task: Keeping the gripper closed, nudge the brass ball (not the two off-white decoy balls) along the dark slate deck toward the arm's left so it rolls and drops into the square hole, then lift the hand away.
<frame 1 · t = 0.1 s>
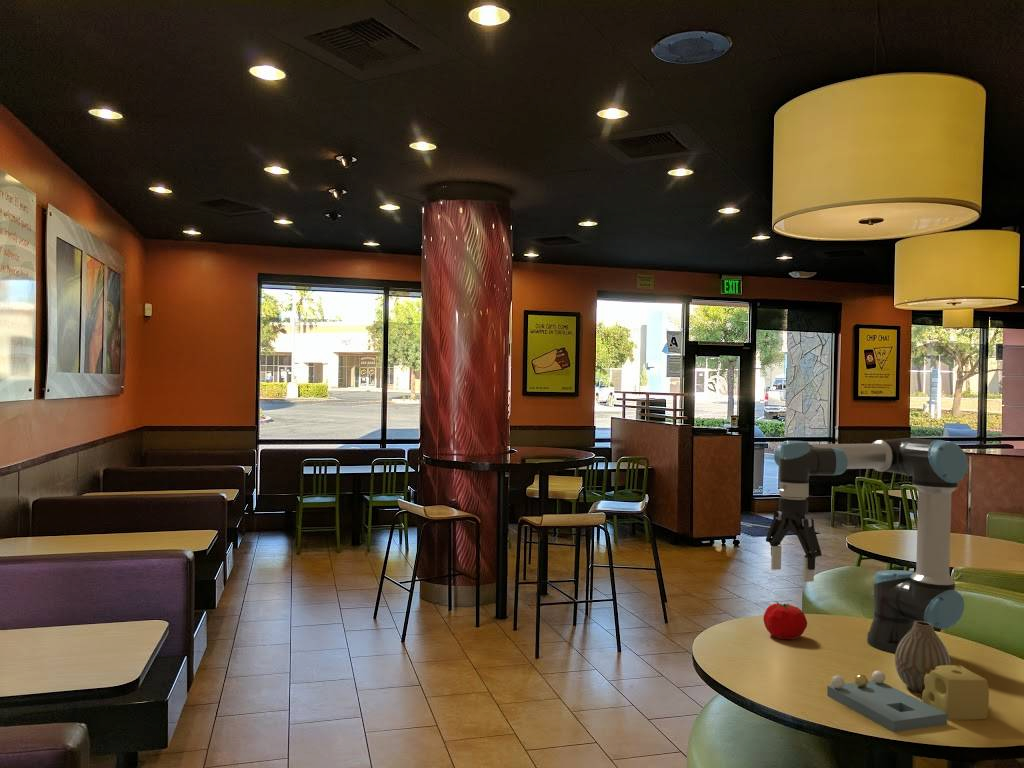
hand: (791, 575, 215), 28 cm above the table, fingers open, 13 cm apart
decoy b: (837, 681, 202), point 4 cm above the table, touching deck
cheese: (955, 713, 194), on the table
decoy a: (878, 677, 206), point 4 cm above the table, touching deck
vase: (921, 689, 209), on the table
ball: (861, 680, 203), point 4 cm above the table, touching deck
deck: (884, 709, 195), on the table
tomato: (784, 637, 250), on the table
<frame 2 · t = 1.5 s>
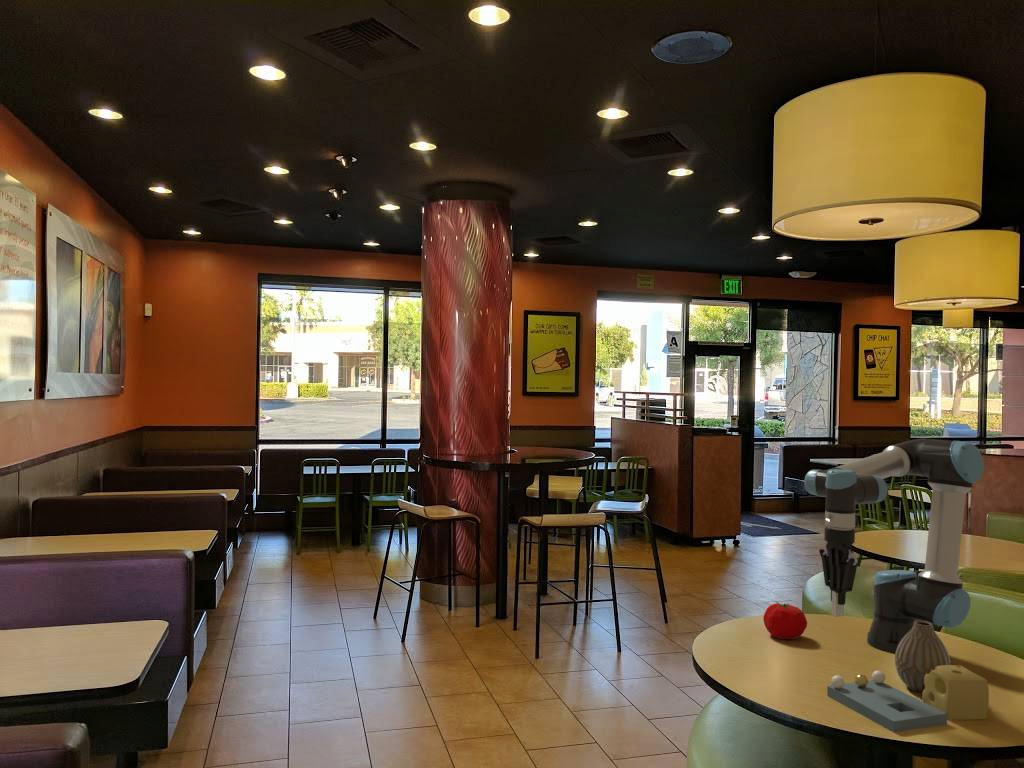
hand: (837, 615, 211), 18 cm above the table, fingers closed
nothing on the table moved.
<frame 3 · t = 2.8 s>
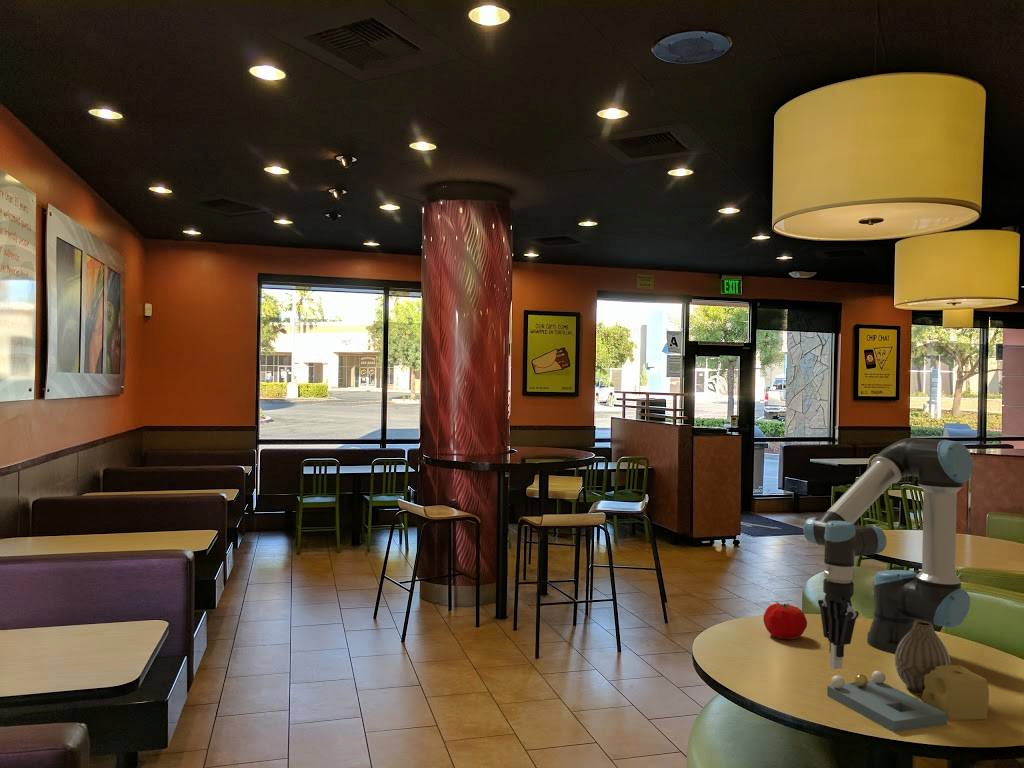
hand: (836, 667, 211), 4 cm above the table, fingers closed
nothing on the table moved.
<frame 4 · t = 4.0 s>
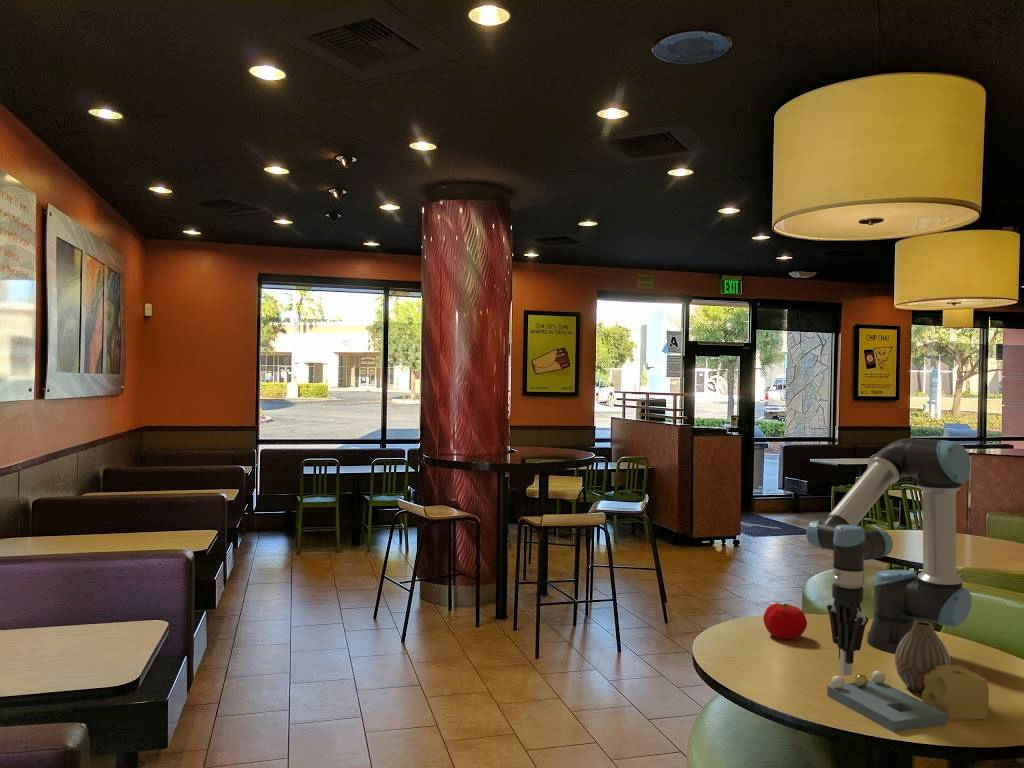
hand: (845, 674, 208), 4 cm above the table, fingers closed
nothing on the table moved.
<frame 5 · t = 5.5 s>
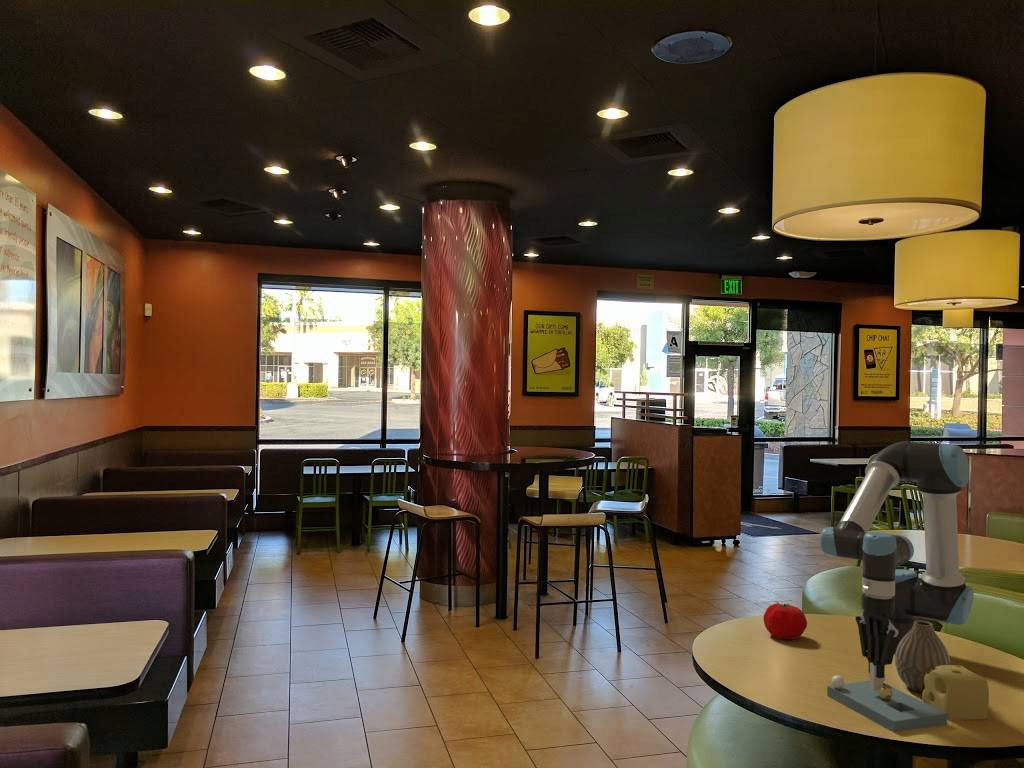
hand: (876, 689, 198), 4 cm above the table, fingers closed
ball: (885, 693, 195), point 4 cm above the table, tilted 68°, touching deck
everything else where it was.
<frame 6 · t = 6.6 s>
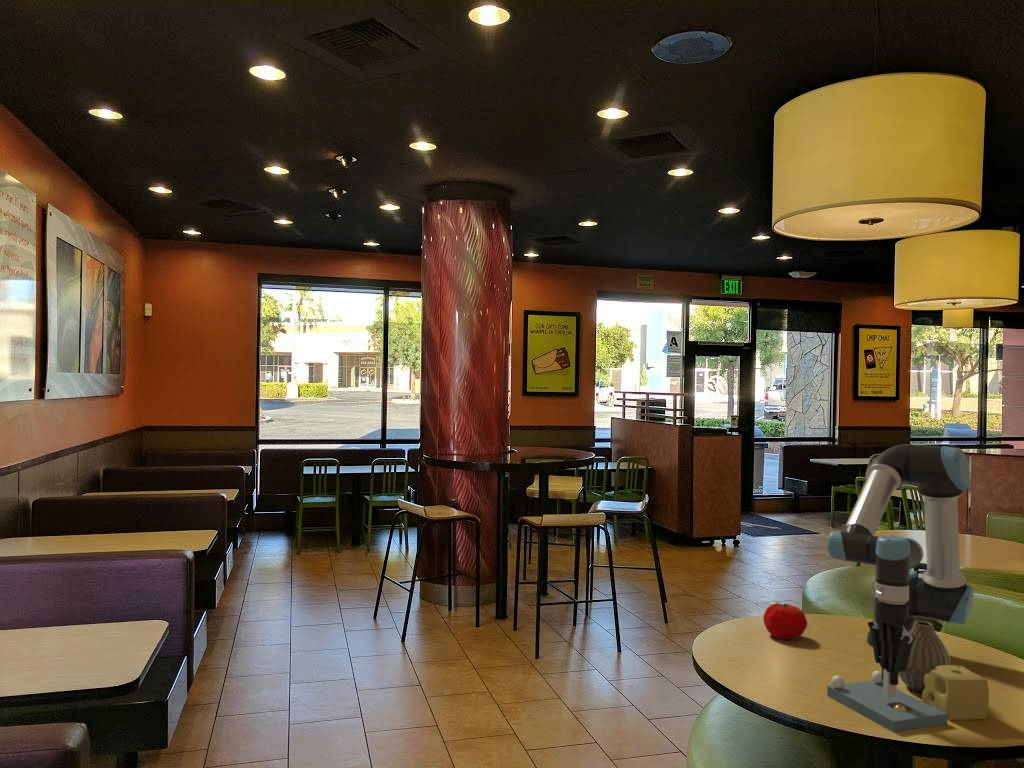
hand: (889, 696, 194), 4 cm above the table, fingers closed
ball: (900, 711, 190), point 2 cm above the table, tilted 138°
everything else where it was.
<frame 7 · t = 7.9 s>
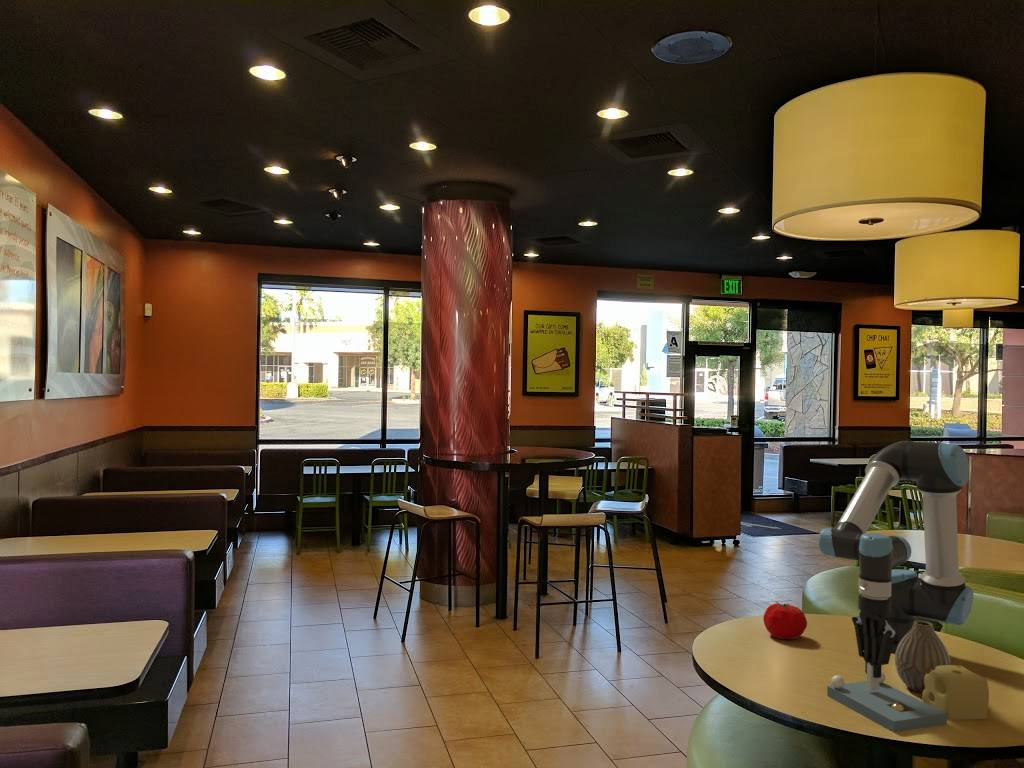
hand: (872, 688, 199), 3 cm above the table, fingers closed
ball: (897, 709, 191), point 2 cm above the table, tilted 111°
everything else where it was.
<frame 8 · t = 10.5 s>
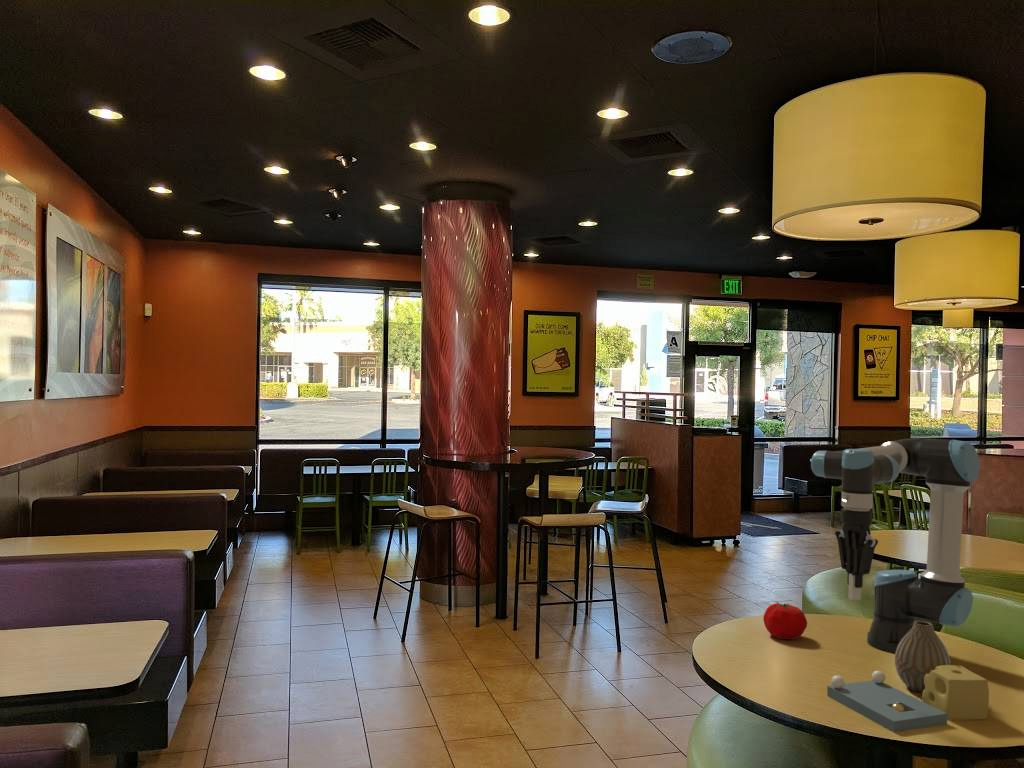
hand: (854, 598, 205), 24 cm above the table, fingers closed
nothing on the table moved.
at the end: ball 0.6 cm from the target spot in the deck, point 1.6 cm above the deck's base; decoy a moved 0.0 cm from its start; decoy b moved 0.0 cm from its start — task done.
